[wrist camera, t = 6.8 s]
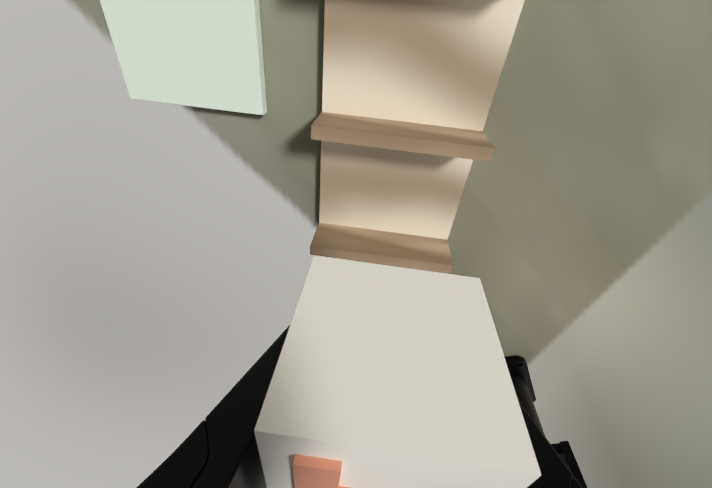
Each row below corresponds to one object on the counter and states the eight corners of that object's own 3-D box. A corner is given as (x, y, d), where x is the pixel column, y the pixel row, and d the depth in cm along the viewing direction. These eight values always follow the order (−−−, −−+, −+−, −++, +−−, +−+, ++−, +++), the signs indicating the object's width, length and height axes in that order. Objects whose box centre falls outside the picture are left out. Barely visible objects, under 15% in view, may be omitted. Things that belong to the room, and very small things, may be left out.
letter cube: (438, 372, 11) (459, 553, 7) (312, 353, 11) (270, 522, 8) (479, 278, 8) (545, 487, 5) (314, 255, 9) (250, 442, 5)
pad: (267, 112, 17) (263, 115, 16) (138, 96, 17) (130, 98, 16) (253, -74, 12) (247, -77, 12) (82, -92, 13) (70, -96, 12)
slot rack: (443, 242, 20) (450, 273, 18) (320, 226, 20) (310, 254, 18) (645, -393, 8) (749, -565, 6) (338, -415, 8) (315, -589, 6)
